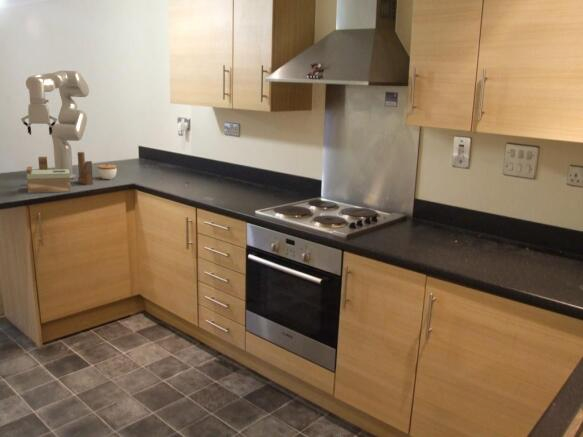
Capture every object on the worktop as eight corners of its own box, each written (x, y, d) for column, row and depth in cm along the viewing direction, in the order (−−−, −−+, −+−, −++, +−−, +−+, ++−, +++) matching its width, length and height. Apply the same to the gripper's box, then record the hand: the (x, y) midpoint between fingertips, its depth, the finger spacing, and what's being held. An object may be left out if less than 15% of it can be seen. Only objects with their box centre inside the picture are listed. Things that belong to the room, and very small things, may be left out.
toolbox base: (29, 189, 281) (28, 174, 279) (70, 188, 289) (69, 173, 287) (28, 194, 270) (27, 179, 268) (70, 192, 278) (69, 177, 276)
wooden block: (87, 186, 294) (85, 154, 289) (77, 183, 301) (76, 152, 296) (93, 186, 297) (91, 154, 292) (84, 182, 304) (82, 151, 299)
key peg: (40, 185, 292) (38, 156, 288) (48, 185, 294) (46, 156, 289) (40, 187, 288) (38, 157, 284) (48, 186, 290) (46, 157, 286)
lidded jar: (102, 181, 311) (101, 165, 308) (95, 178, 318) (94, 162, 316) (120, 179, 318) (119, 163, 315) (112, 176, 325) (112, 161, 323)
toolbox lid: (28, 174, 279) (27, 166, 278) (69, 173, 287) (68, 165, 285) (27, 179, 268) (26, 170, 267) (69, 177, 276) (69, 169, 275)
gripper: (55, 101, 286) (58, 133, 290) (20, 101, 279) (22, 133, 283) (55, 102, 279) (57, 135, 283) (18, 101, 272) (21, 135, 277)
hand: (40, 134), depth 283 cm, fingers open, 9 cm apart
